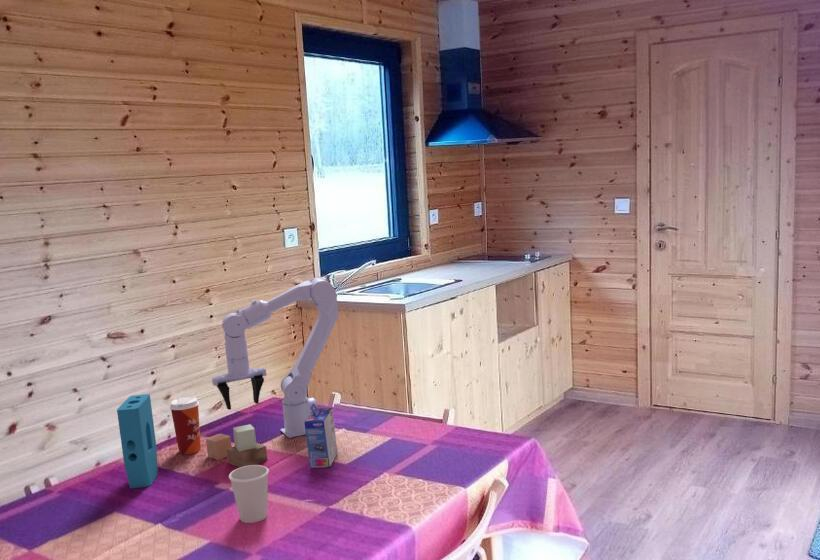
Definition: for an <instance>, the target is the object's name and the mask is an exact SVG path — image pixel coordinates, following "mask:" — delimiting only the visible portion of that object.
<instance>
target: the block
mask: <svg viewBox="0 0 820 560" xmlns="http://www.w3.org/2000/svg"><path fill="white" fill-rule="evenodd" d="M116 413H117V420H118V427H119V428H118V429H119V437H120V442H121V450H122V451H121V452H122V457H123V464H124V468H125V474H126V476H127V482H128V484H129V489H137V488H138V489H139V488H146V487H149V486H152V484H153V482H154V481H155V479H156V478H157V476H158V475H159V472H158V471H159V468H158V466H159V465H158V450H157V449H158V448H157V440H156V433H155V432H156V431H155V425H154V423H155V422H154V418H153V409H152V402H151V395H150V393H147V394H146V393H145V394H136V395H131V396H130V395H129V396H128V398H127V399H125V400H124V401H123V403H122V404H121V405H119V406H118V408H117V409H116Z"/></svg>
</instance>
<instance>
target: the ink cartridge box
mask: <svg viewBox="0 0 820 560" xmlns="http://www.w3.org/2000/svg"><path fill="white" fill-rule="evenodd" d="M314 407H315V408H316V409H313V408H314ZM310 409H311V410H312V411H311V413H310V414H309V416H308V417H307V419H306V420H305V422H304V423H305V431H306V434H305V437H306V445H307V453H308V459H309V468H310V469H314V468H315V469H317V468H319V469H320V468H322V469H323V468H330V467H332V464H333V462H334V460H335V459H336V456H337V455H338V446H337V445H338V444H337V443H338V442H337V437H336V435H337V434H336V431H335V430H336V429H335V428H336V427H335V419H334V413H333V407H325V408H323V407H322V408H320V407H318V408H317V407H316V405H315V404H314V403H313V404H312V406H311V407H310Z"/></svg>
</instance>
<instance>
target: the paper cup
mask: <svg viewBox="0 0 820 560" xmlns="http://www.w3.org/2000/svg"><path fill="white" fill-rule="evenodd" d="M199 405H200V402H199V401H198V398H197V397H193V396H187V397H186V396H185V397H179V398H177V399H176V398H175V399H173V400H172V401H171V402H170V406H169V409H170V411H171V417H172V421H173V428H174V432H175V438H176V444H177V448H178V453H179V454H180V455H192V454H195V453H198V452H200V451H201V431H200V415H199V414H200V413H199V412H200V411H199Z"/></svg>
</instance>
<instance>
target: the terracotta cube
mask: <svg viewBox="0 0 820 560" xmlns="http://www.w3.org/2000/svg"><path fill="white" fill-rule="evenodd" d="M205 442H206V443H205V444H206V452H207V457H208V458H211V459H214V460H217V461H218V460H220V459H224V458H226V457H227V458H228V453H227V449H228V448H231V447H232V440H231V435H228V434H227V435H226V434H224V433H217V434H215V435H214V434H213V435H212V436H209V437H207V438H205Z"/></svg>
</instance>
